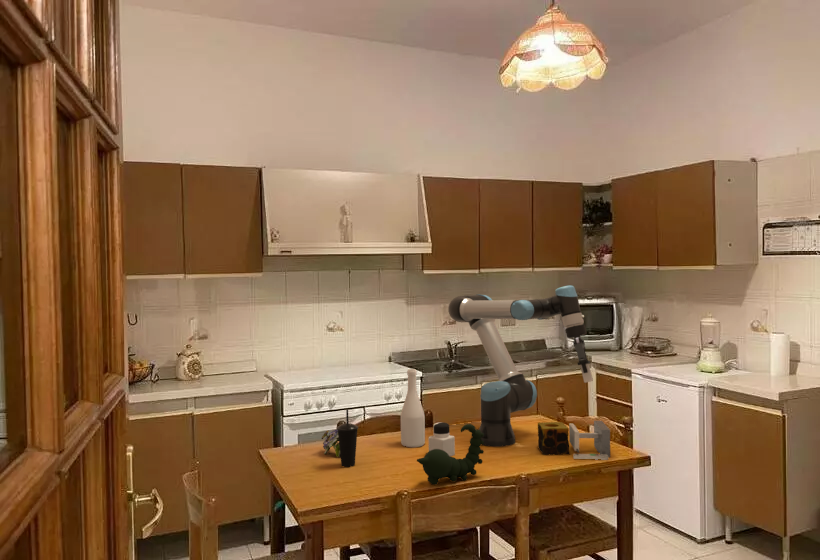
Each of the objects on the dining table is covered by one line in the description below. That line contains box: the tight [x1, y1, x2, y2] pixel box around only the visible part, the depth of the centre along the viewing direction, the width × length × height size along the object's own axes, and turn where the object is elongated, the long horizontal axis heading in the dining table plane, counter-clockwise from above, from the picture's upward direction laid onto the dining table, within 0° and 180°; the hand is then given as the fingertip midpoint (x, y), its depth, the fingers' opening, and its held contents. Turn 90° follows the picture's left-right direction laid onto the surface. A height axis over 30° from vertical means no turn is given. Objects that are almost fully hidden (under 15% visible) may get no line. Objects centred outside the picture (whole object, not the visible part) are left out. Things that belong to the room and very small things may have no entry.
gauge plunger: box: [568, 423, 598, 454], centre depth 237 cm, size 12×16×7 cm
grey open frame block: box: [572, 420, 611, 461], centre depth 237 cm, size 14×18×10 cm
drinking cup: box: [336, 408, 359, 468], centre depth 227 cm, size 8×8×20 cm
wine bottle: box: [400, 368, 426, 448], centre depth 252 cm, size 10×10×30 cm
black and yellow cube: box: [537, 421, 570, 456], centre depth 240 cm, size 10×10×10 cm
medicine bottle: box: [428, 421, 456, 457], centre depth 237 cm, size 7×7×12 cm
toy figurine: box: [416, 423, 484, 486], centre depth 208 cm, size 9×19×25 cm
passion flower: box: [321, 428, 340, 458], centre depth 241 cm, size 11×11×12 cm
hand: (588, 381), depth 236 cm, fingers open, 13 cm apart
